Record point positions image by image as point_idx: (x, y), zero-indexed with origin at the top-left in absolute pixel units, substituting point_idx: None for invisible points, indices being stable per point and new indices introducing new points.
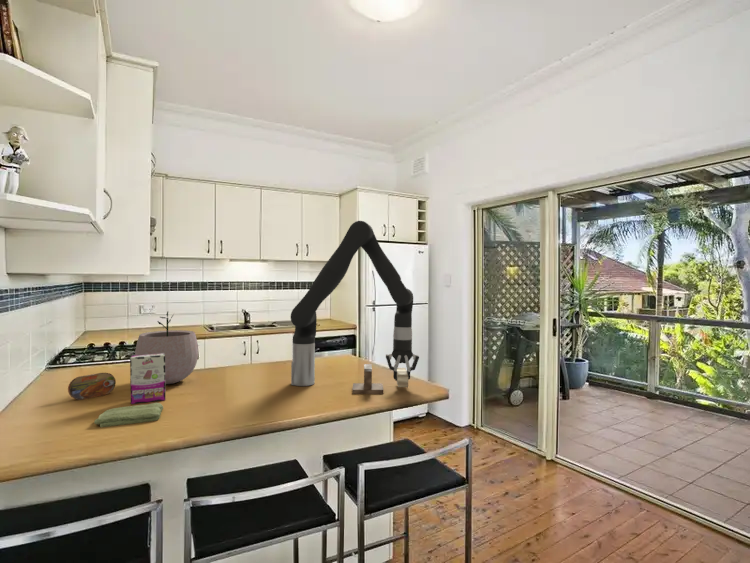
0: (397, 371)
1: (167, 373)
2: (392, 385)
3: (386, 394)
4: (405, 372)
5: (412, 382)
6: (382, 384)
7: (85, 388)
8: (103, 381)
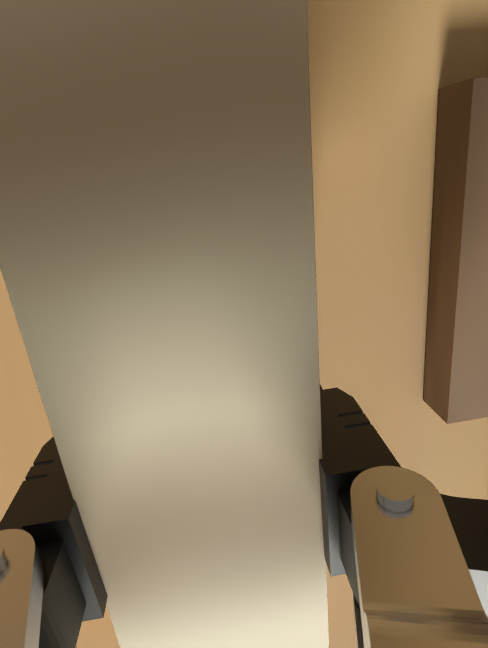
0: (310, 554)
1: None
2: None
3: (398, 53)
4: (117, 518)
5: (107, 616)
6: (452, 373)
7: None
8: None
